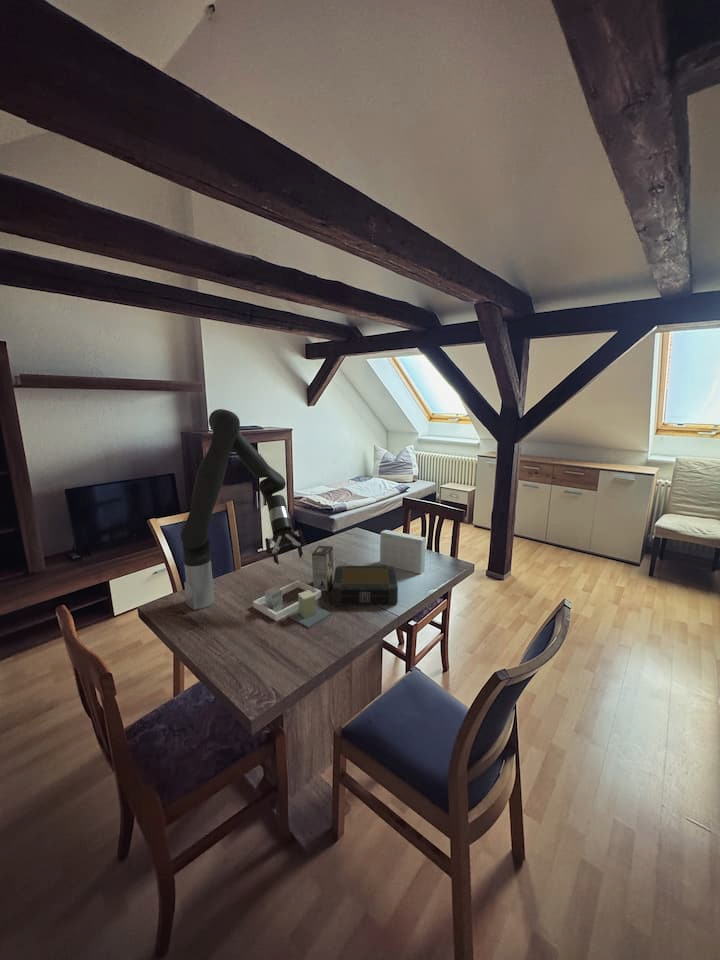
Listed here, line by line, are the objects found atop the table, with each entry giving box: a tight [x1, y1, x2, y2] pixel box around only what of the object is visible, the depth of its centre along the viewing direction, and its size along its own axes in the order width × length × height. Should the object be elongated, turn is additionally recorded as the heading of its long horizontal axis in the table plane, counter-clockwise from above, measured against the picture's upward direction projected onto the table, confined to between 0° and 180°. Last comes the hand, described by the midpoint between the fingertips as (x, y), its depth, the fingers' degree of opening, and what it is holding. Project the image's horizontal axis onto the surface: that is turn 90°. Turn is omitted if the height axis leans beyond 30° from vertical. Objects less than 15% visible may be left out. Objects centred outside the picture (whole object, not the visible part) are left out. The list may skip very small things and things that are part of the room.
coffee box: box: [311, 545, 334, 592], centre depth 158 cm, size 9×6×16 cm
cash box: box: [331, 565, 399, 606], centre depth 153 cm, size 25×20×8 cm
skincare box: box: [379, 529, 427, 575], centre depth 175 cm, size 21×5×16 cm, turn 58°
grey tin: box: [264, 586, 284, 613], centre depth 141 cm, size 4×4×8 cm
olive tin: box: [297, 590, 317, 618], centre depth 137 cm, size 5×5×8 cm
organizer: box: [252, 579, 322, 622], centre depth 147 cm, size 22×14×2 cm, turn 139°
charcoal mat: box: [287, 604, 332, 629], centre depth 137 cm, size 11×11×1 cm
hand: (289, 560), depth 139 cm, fingers open, 8 cm apart
